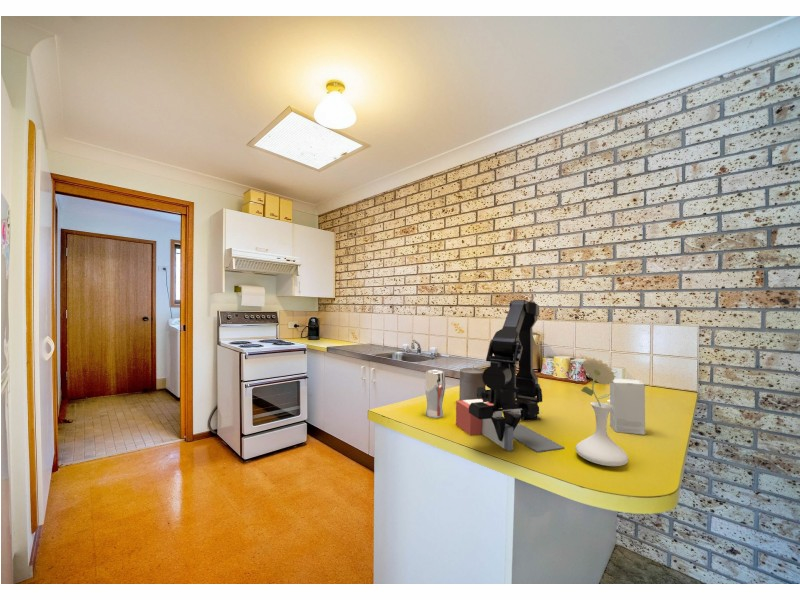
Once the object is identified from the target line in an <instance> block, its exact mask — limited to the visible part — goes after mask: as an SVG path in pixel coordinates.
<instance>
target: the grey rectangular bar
mask: <svg viewBox="0 0 800 600" xmlns="http://www.w3.org/2000/svg"><path fill="white" fill-rule="evenodd" d="M481 435H484V437H487V438H488V439H490V440H491V441H492V442H494V443H495V444H497V445H498V446H499V447H501V448H502V449H504V450H505V451H507V452H512V451H514V438H513V427H512V426H510V425H508V424H506V423H505V429H504V436H503V440H502V441H500V440H499V439H498V436H497V433H496V430H495V427H494V424H493V422H492V420H491V419H482V434H481Z"/></svg>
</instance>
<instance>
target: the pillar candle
mask: <svg viewBox="0 0 800 600" xmlns="http://www.w3.org/2000/svg"><path fill="white" fill-rule="evenodd" d="M484 371H485V369H484V368H483V369H482V368H478V367H474V366H472V367H463V368H459V400H458V401H461V400H473V399H478V398H477V394H476V393H477V388H478V387H485V389H486V388H487V386H486V385H485V384H484V382H483V378H482V375H483V372H484Z"/></svg>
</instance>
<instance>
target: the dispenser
mask: <svg viewBox="0 0 800 600" xmlns="http://www.w3.org/2000/svg"><path fill="white" fill-rule="evenodd" d="M475 402H483V399H473V400H461V401H459V400H456V403H455V425H456V426H457V427H459V428H460V429H461V430H462V431H464V432H466V433H467V434H468V435H469V436H474V435H475V436H476V435H483V434H482V419H478V418H477V417H475V416H473V415H472V414H470V413H469V406H470V404H471V403H475ZM483 403H485V404H487V405H489V406H491V405H493V404H491V403H489V401H487V402H483ZM499 409H500V408H499Z"/></svg>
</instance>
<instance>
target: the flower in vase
mask: <svg viewBox="0 0 800 600" xmlns="http://www.w3.org/2000/svg"><path fill="white" fill-rule="evenodd" d="M582 365H583V366H582V369H583V370H584V371H585V373H586V374H587V376H588V377H589V378H590V379H592V383H591V384H592V385H591V388H590V387H588V386H583V388H581V390H580V392H583V393H584V394H587V395H588V396H593V395H594V397H595V399H596V400H597V401H591V402H590V405H591V408H592V409H593V410H594V411H593V412H594V414H595V415H594V416H595V420H596V421H595V423H596V424H595V425H596V426H595V432H594V433H593V434H592V435H590V436H588V437H586V438H584V439H582V440H581V441H579V442H578V443H577V444H576V446H575V448H574V449H575V452H576V453H577V454H578V455H579V456H580V457H581V458H583V459H585V460H586V461H588V462H591V463H594V464H597V465H601V466H606V467H621V466H625V465H626V464H627V463H628V462H629V456H628V454H627V453H626V451H624V450H623V448H621V446H619V445H618V444H617V443H616V442H615V441H614V440H613V439H611V438H610V436H609V434H608V431H607V427H608V426H607V424H608V417H609V415H610V410H611V409H612V408H613V406H612V405H610V403H607V402H606V403H605V402H601V401H600V400H601V399H605V398H607V397H608V398H609V396H610V395H611V394H612V393H611V394H610V393H608V394H607V393H606V394H603V395H601V396H599V397H598V396H597V394H596V392H595V390H594V386H595V381H596V382H597V383H598V384H601V385H606V384H607V385H610V383H614V382H613V381H612V380H614V378H616V376H615V372H614V371H612V370H613V368H612V366H609V365H608V364H607V363H605V362H603V360H602V359H596V358H595V357H593V358H592V357H590V358H589V359H586V358H585V360H583V363H582Z"/></svg>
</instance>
